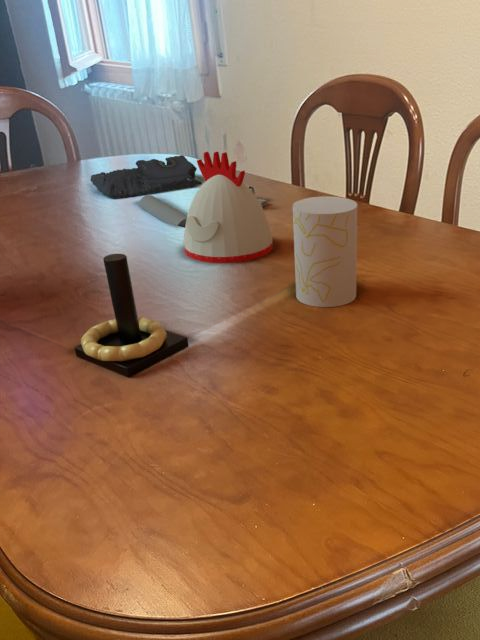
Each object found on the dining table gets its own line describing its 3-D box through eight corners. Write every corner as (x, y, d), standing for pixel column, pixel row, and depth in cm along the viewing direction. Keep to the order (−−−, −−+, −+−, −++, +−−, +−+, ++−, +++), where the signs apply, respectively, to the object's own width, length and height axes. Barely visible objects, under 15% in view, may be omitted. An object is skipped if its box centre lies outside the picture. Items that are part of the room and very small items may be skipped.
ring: (66, 350, 74) (62, 337, 73) (128, 321, 80) (126, 309, 79) (121, 371, 69) (118, 358, 69) (183, 339, 76) (181, 326, 75)
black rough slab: (85, 185, 143) (81, 162, 140) (181, 172, 152) (178, 150, 150) (105, 201, 132) (101, 176, 129) (207, 185, 141) (204, 162, 139)
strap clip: (255, 202, 129) (254, 180, 127) (268, 204, 128) (266, 181, 125) (229, 213, 123) (226, 190, 121) (242, 215, 122) (240, 191, 119)
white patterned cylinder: (286, 302, 87) (282, 210, 80) (309, 281, 93) (307, 194, 87) (344, 310, 85) (344, 216, 78) (364, 288, 91) (365, 199, 84)
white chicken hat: (221, 234, 112) (211, 140, 104) (289, 246, 106) (285, 147, 98) (167, 259, 102) (151, 157, 94) (239, 273, 96) (229, 166, 88)
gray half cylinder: (158, 202, 130) (157, 193, 129) (199, 226, 116) (198, 216, 115) (138, 206, 128) (136, 197, 127) (177, 230, 114) (175, 220, 114)
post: (76, 356, 75) (52, 261, 69) (136, 328, 81) (120, 238, 75) (129, 378, 71) (108, 278, 65) (188, 346, 77) (175, 252, 71)
